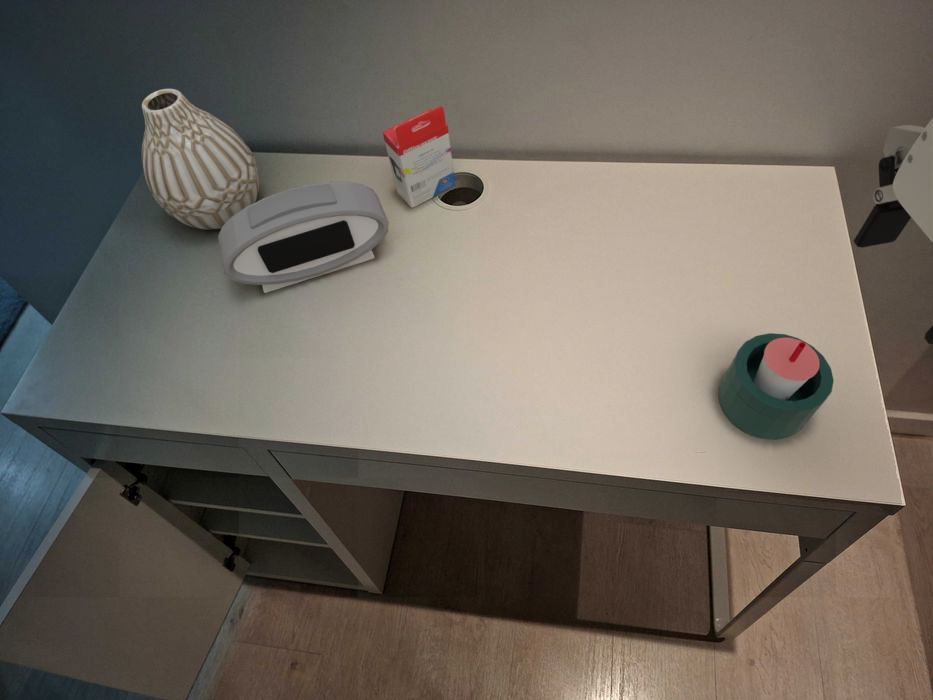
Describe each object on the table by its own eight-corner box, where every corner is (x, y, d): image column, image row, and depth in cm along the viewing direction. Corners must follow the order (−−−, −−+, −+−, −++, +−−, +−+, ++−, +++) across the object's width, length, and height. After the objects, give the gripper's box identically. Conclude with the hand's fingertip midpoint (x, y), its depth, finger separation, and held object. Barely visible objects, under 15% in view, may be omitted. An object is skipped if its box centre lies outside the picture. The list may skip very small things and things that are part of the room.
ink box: (440, 170, 98) (428, 89, 86) (456, 186, 95) (446, 104, 83) (395, 193, 96) (376, 112, 83) (411, 210, 93) (393, 129, 81)
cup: (761, 428, 68) (802, 373, 58) (729, 392, 70) (762, 334, 60) (798, 407, 69) (844, 349, 59) (765, 373, 71) (803, 312, 61)
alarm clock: (243, 304, 85) (203, 241, 75) (238, 274, 89) (198, 210, 78) (397, 255, 88) (379, 188, 77) (386, 228, 91) (368, 160, 81)
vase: (262, 166, 102) (211, 54, 86) (280, 226, 94) (227, 114, 77) (170, 195, 100) (99, 86, 84) (180, 259, 91) (103, 151, 75)
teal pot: (783, 359, 73) (805, 326, 67) (823, 430, 67) (851, 400, 62) (705, 374, 73) (720, 342, 67) (739, 447, 67) (759, 418, 61)
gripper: (1295, 168, 26) (1033, 372, 40) (1028, -12, 36) (892, 202, 50) (1128, 198, 26) (925, 392, 40) (907, 10, 36) (805, 218, 50)
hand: (907, 287), depth 45 cm, fingers open, 9 cm apart
